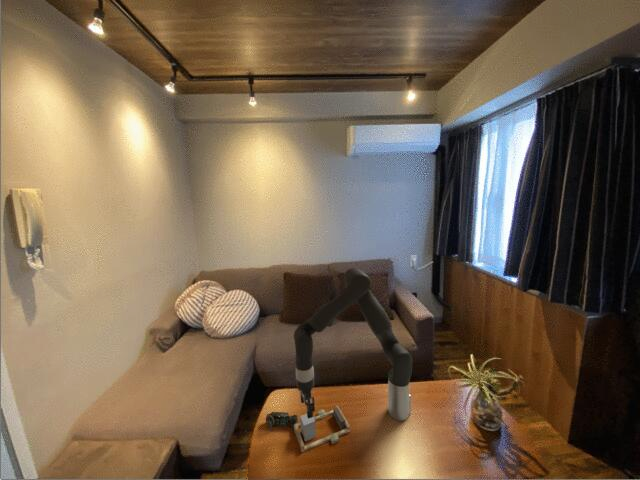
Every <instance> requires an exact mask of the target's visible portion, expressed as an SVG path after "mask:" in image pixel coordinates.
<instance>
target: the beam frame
mask: <svg viewBox="0 0 640 480" xmlns="http://www.w3.org/2000/svg"><path fill="white" fill-rule="evenodd" d="M331 415H333V417H334V419H335V421H336V423H337V425H338V426H339V429H340V430H339V431H337V432H333V433H331V434H329V435H327V436H325V437H323V438H320V439H317V440H315V441H313V442H310V443H309V444H306V445H305V443H304V441H303V440H304V439H303V436H302V434H301V432H300V429H299V428H301V421H300V422H297V423H296V424H294V427H293V430H294V433H295V435H296V439H297V441H298V445H299V447H300V451H301V453H304V452H306V451H309V450H311V449H313V448H315V447H317V446H320V445H323V444H325V443H327V442H329V441H330V442H331V445H333V444H336V443H338V442H340V440H339V439H340V438H339V437H341V436H343V435H345V434H347V433H350V432H351V425H350V424H349V422H348V421H347V418H345V415H344V413H343V412H342V410H341V408H340V407H339V405H335V407H333V409H331V410H329V411H325V409H324V408H323V409H319V410H317V415H316V416H313V417H314V420H315V422H316V421H318V420H322V419H324V418H327V417H329V416H331Z"/></svg>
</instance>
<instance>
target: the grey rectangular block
mask: <svg viewBox="0 0 640 480" xmlns="http://www.w3.org/2000/svg"><path fill="white" fill-rule="evenodd" d="M299 417H300V418H299V420H300V422H301V427H300V429H301V430H300V431H301V432H300V433H301V436H302V439H303V440H304V441H303V442H308V441H311V440H314V439H316V438H317V430H316V421H315V420H314V417H315V416H313V417H312V418H309V419H308V417H307V413H305V414H303V415H300V416H299Z"/></svg>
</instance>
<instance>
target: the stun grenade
mask: <svg viewBox="0 0 640 480" xmlns="http://www.w3.org/2000/svg"><path fill="white" fill-rule="evenodd" d="M289 414H290V413H289V412H288V411H287V412H284V411H283V412H282V411H271V412H270V413H267V414H266V415H265V416H266V417H265V424H266V426H267V427H268V429H269V431H270V432H272V431H273V428H272V427H276V426H287V427H292V428H294V424H296V423H297V424H298V419H299V418H298V414H292V415H289Z"/></svg>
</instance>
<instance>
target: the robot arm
mask: <svg viewBox="0 0 640 480" xmlns="http://www.w3.org/2000/svg"><path fill="white" fill-rule="evenodd" d="M343 282H344V285H345V288H344V290H343V291H341V293H340V294H339V295H337V296H336V297H335V298H334V299H332V300H330V301H328V302H326V303H325V304H323V305H322V306H320V307H319V309H317V311H316V312H315V313H314V314H313V315H312V316H311V317H310V318H308V319H306V320H305V321H304V322H302V323H300V325H299V326H298V327H297V328H296V329H295V330H294V333H293V339H294V345H295V347H294V348H295V358H294V359H295V385H296V388H297V390H298V392H299V396H300V403H301V404H304V405H305V406H306V407H305V408H306V414H307V417H308V419H309V418H312V417H314V412H315V411H316V407H315V406H316V405H315V397H314V396H313V391H312V390H313V388H314V387H315V368H314V361H313V360H314V359H313V351H314V340H313V334H315V333H322V332H324V331H325V329H326V328H327V327H328V326H329V325H330V324H331V323H332V322H333V321H334V319H336V318H337V317H338V316H339V315H340V314H342V313H343V312H344V311H345V310H346V309H348V308H349V307H350V306H351V305H352V304H354V303H355V302H356V303H357V304H358V306H359V309H360V312H361V313H362V315H363V318H364V319H365V321H366V323H367V325H368V327H369V329H370V330H371V332H372V333H373V335H374V336H375V338H376V339H377V340H378V342H379V343H380V345H381V348H382V350H383V353H384V355H385V357H386V359H387V360H388V361H389V363H390V364H391V366H392V368H391V369H389V371H388V374H387V379H388V381H387V382H388V383H387V385H388V386H387V387H388V390H387V392H388V394H387V395H388V396H387V403H388V407H387V410H388V415H389V417H391V418H392V419H394V420H396V421H401V422H403V421H406V420H407V419H409V417H410V415H411V414H412V396H411V394H410V380H411V378H412V374H413V373H412V371H413V356H412V354H411V352H409V351H408V350H407V349H406V348H405V347H404V346H403V345H402V344H401V343H400V341H399V339H397V337H396V336H395V334H394V332H393V324H392V322H391V319H390V317H389V316H388V314H387V311H386V310H385V309H384V307H383V306H382V305H381V303H380V302H379V300H378V299H377V298H376V297H375V295H374V294H373V293H372V291H371V290H370V289H371V286H372V281H371V278H370V277H369V276H368V275H367V274H366V272H364V271H362V270H361V269H359V268H355V267H353V268H352V267H351V268H349V269H347V270H346V271H345V273H344V276H343Z"/></svg>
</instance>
